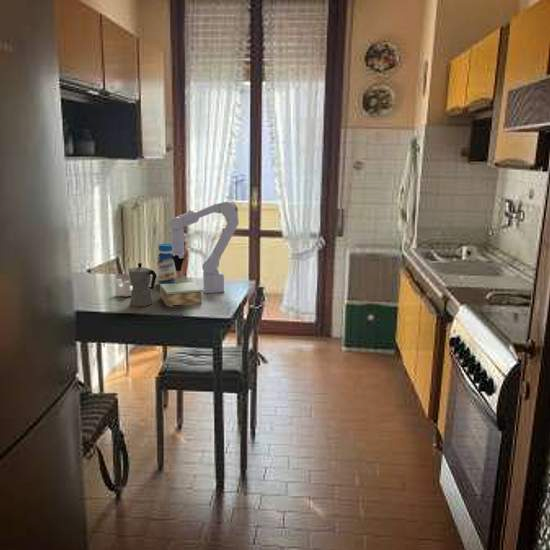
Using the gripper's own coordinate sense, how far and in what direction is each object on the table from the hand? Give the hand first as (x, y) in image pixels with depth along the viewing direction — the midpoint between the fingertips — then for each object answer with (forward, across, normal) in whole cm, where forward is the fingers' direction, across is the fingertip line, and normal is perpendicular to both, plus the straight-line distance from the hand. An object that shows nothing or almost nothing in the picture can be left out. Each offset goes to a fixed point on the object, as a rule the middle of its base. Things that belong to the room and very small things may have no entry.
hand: (178, 270), depth 258 cm
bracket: (+10, +1, -22) cm, 24 cm away
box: (+9, +20, -4) cm, 23 cm away
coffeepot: (+10, +21, -20) cm, 31 cm away
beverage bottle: (+10, -15, -3) cm, 18 cm away
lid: (+8, +20, -3) cm, 22 cm away
